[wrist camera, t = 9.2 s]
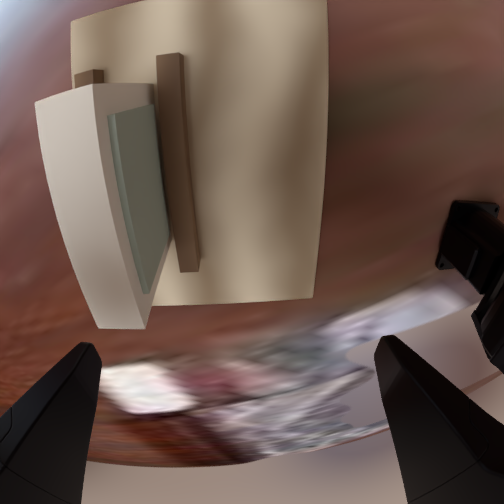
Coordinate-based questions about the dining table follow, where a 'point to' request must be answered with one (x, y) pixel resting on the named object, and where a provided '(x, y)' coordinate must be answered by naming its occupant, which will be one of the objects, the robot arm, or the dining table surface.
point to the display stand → (227, 135)
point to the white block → (108, 195)
